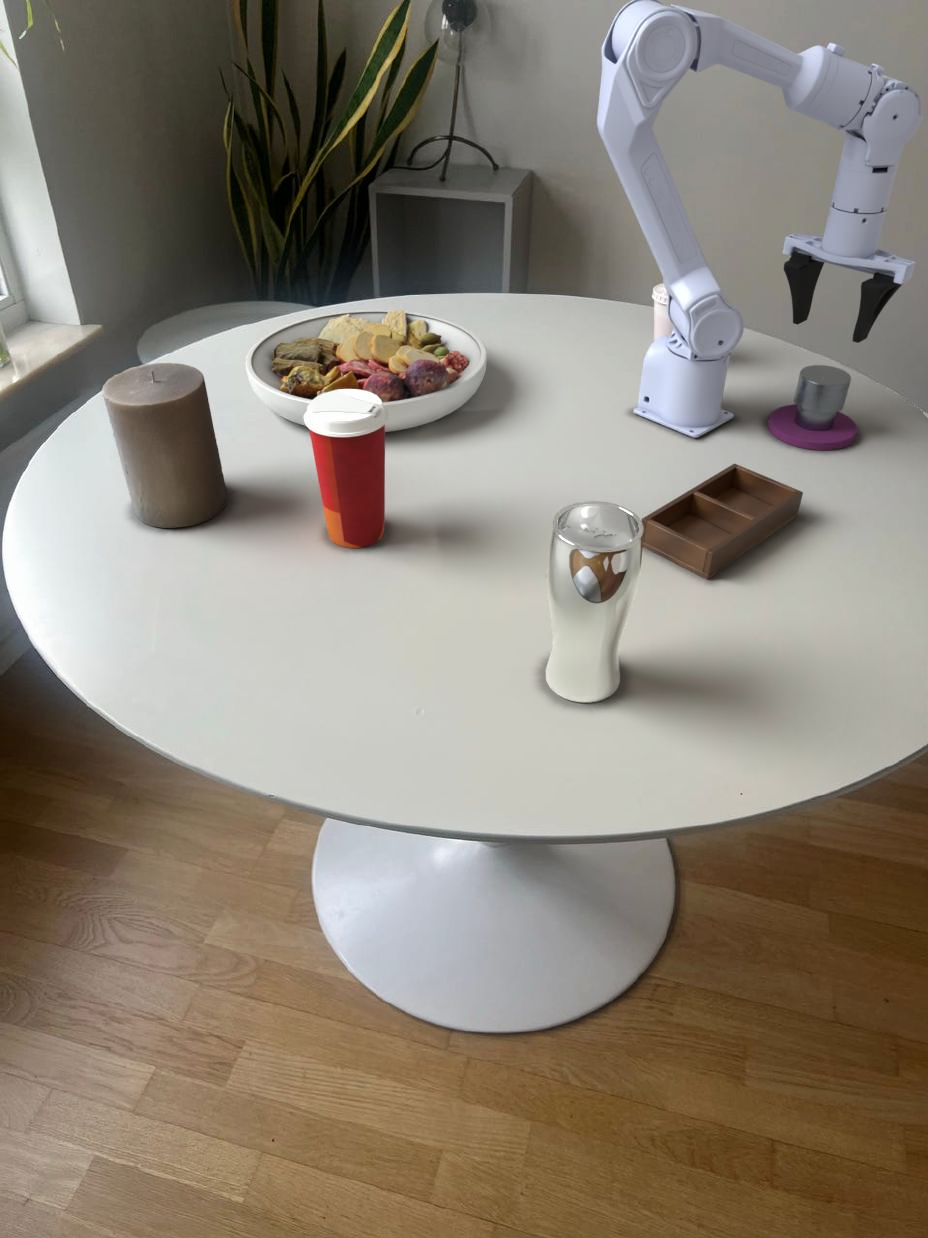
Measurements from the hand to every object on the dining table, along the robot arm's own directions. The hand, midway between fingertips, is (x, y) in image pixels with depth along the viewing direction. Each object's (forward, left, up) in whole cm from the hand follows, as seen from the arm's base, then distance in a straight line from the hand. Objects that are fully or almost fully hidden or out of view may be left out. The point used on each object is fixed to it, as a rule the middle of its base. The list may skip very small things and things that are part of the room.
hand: (829, 330), depth 108 cm
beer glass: (+13, -57, -11) cm, 59 cm away
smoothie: (-21, 0, -11) cm, 24 cm away
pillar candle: (-34, -67, -11) cm, 76 cm away
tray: (+8, -30, -10) cm, 33 cm away
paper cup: (-17, -57, -11) cm, 60 cm away
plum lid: (+3, -4, -10) cm, 11 cm away
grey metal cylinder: (+3, -4, -9) cm, 11 cm away
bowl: (-42, -35, -11) cm, 56 cm away
